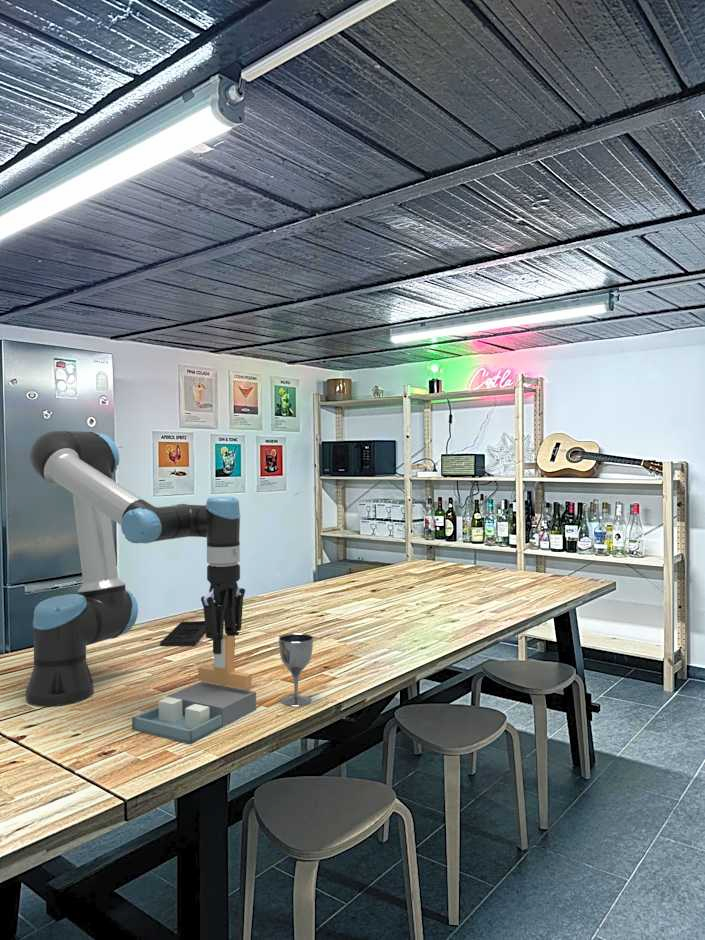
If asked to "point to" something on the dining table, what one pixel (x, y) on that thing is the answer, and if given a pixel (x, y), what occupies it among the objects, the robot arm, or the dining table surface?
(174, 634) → the black shallow tray
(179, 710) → the white cube block
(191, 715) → the white rectangular block
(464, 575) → the dining table surface
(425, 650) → the dining table surface
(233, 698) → the grey drawer housing
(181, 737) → the blue-grey flat tray
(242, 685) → the orange t-shaped block
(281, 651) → the wine glass
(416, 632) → the dining table surface
